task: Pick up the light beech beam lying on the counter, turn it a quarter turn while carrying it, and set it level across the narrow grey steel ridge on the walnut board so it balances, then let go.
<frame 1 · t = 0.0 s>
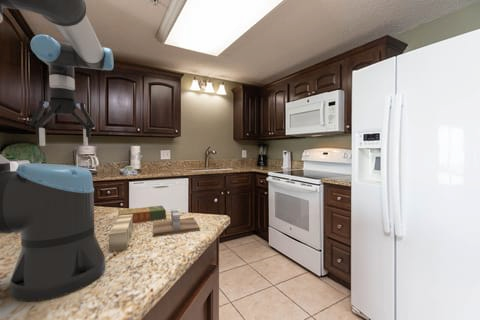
hand: (64, 146, 87), 28 cm above the countertop, fingers open, 13 cm apart
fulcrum: (175, 227, 77), on the countertop
beam: (122, 239, 68), on the countertop
carton: (142, 220, 87), on the countertop
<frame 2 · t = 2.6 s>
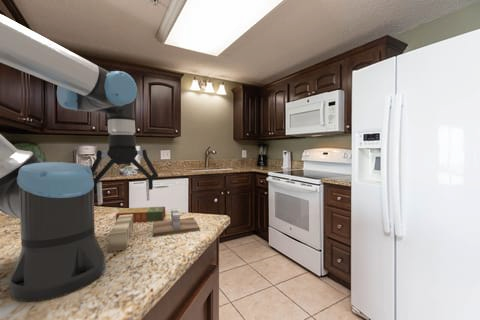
hand: (125, 201, 72), 10 cm above the countertop, fingers open, 13 cm apart
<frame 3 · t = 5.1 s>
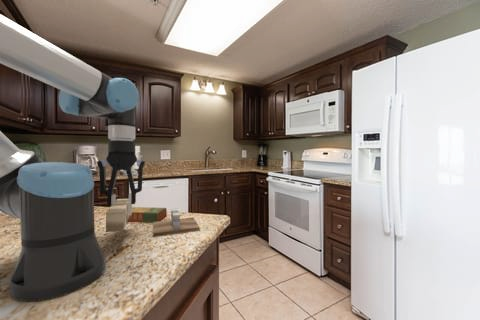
hand: (121, 214, 72), 6 cm above the countertop, fingers closed on beam, 4 cm apart
beam: (119, 221, 67), point 5 cm above the countertop, touching gripper
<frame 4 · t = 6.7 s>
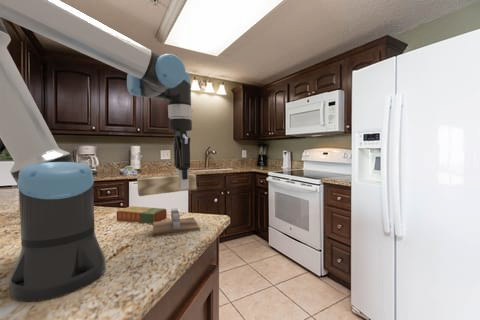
hand: (182, 187, 78), 13 cm above the countertop, fingers closed on beam, 4 cm apart
beam: (168, 191, 76), point 12 cm above the countertop, touching gripper
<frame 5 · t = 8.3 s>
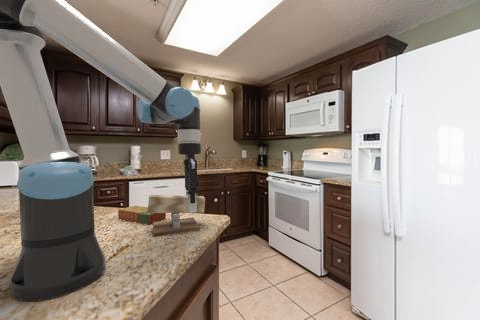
hand: (191, 210, 79), 5 cm above the countertop, fingers closed on beam, 4 cm apart
beam: (176, 211, 77), point 5 cm above the countertop, tilted 6°, touching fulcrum, gripper
when the fingers open (4 cm above the countertop, at t = 9.1 s): beam stays where it is, resting on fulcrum.
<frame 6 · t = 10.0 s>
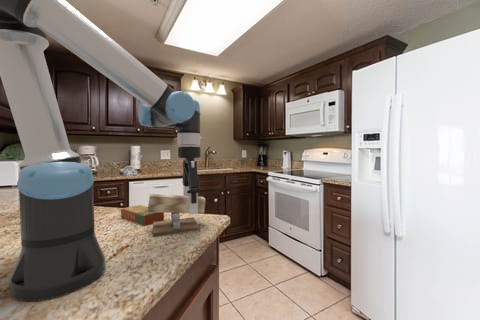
hand: (190, 208, 79), 6 cm above the countertop, fingers open, 13 cm apart
beam: (176, 211, 77), point 5 cm above the countertop, tilted 8°, touching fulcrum
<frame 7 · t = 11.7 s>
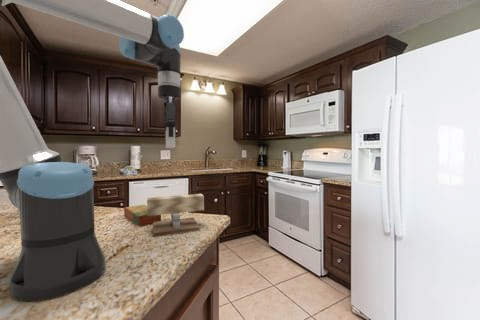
hand: (170, 147, 80), 27 cm above the countertop, fingers open, 13 cm apart
beam: (176, 211, 77), point 5 cm above the countertop, touching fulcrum
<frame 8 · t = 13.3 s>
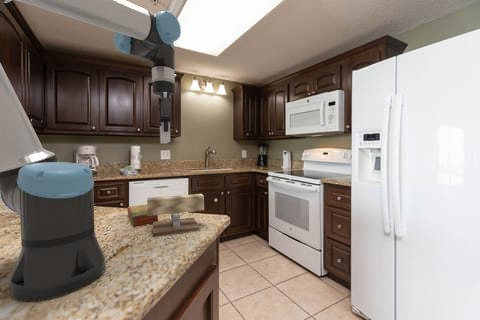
hand: (165, 143, 81), 29 cm above the countertop, fingers open, 13 cm apart
at the end: beam 0.4 cm off-centre on the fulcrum, point 5.4 cm above the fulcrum's base; beam tilted 0°; the gripper is holding nothing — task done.
